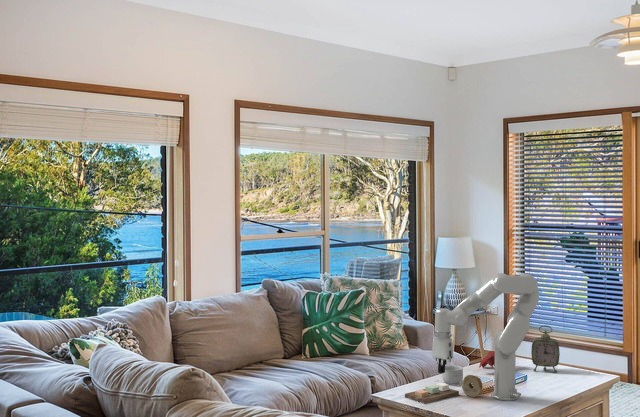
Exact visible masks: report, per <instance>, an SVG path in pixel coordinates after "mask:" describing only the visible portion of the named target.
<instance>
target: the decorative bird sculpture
mask: <svg viewBox="0 0 640 417" xmlns="http://www.w3.org/2000/svg"><path fill="white" fill-rule="evenodd" d="M487 365H488V366H490V367H491V368H493V370H495V350H493V351H490V352H489V353H487V354H486V356H485V357H483V358H482V359H481V361H480V363H479V366H478V367H479V369H480V368H484V367H486V366H487Z"/></svg>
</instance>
